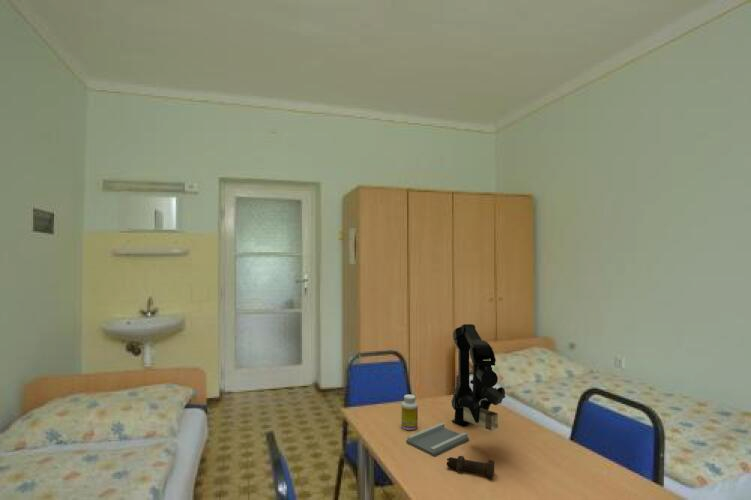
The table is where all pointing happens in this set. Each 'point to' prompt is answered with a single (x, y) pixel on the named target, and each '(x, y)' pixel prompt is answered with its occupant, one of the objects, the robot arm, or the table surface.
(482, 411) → the banded block
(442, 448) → the cradle
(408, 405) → the supplement bottle
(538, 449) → the table surface
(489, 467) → the bolt
